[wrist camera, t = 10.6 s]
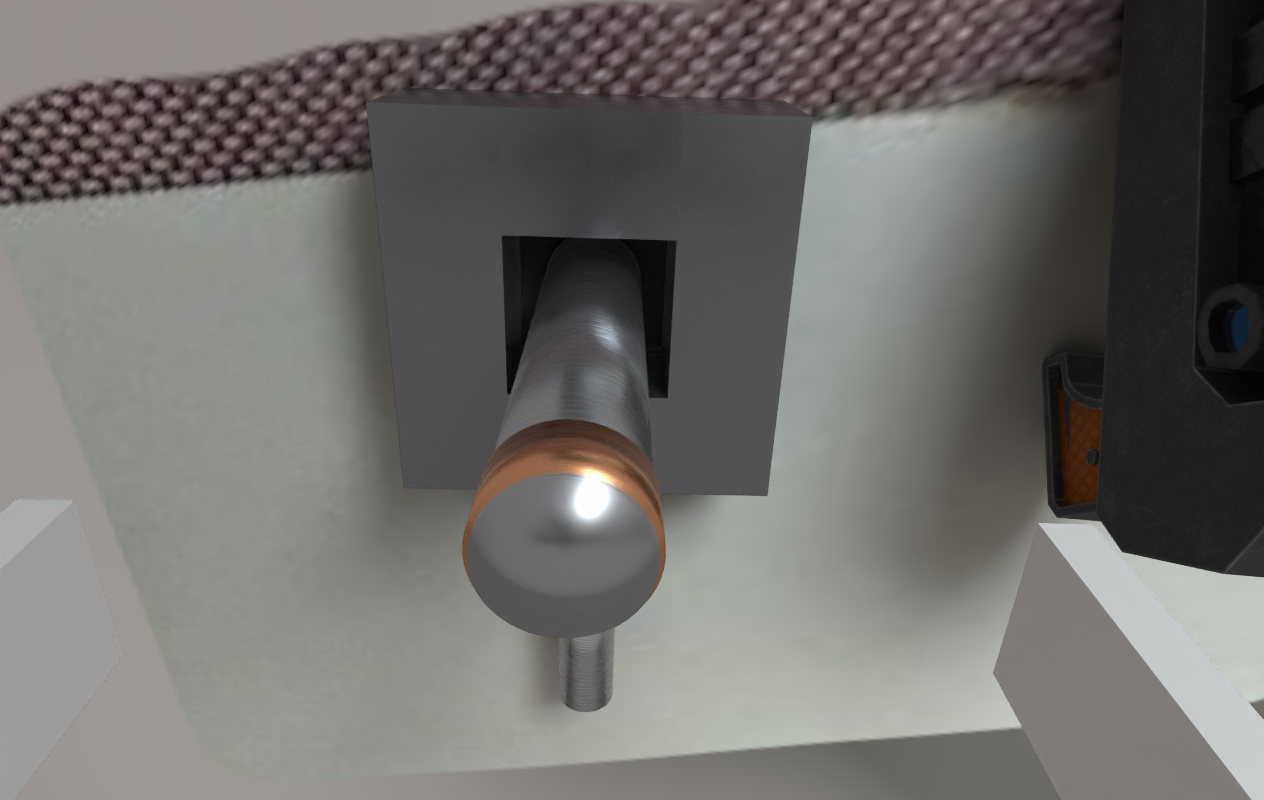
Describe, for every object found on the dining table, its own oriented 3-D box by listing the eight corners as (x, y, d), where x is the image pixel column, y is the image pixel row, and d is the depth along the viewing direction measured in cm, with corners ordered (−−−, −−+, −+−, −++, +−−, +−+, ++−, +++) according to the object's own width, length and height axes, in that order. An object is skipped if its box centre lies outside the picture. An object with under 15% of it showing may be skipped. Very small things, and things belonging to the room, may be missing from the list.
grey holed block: (404, 88, 24) (366, 102, 20) (783, 101, 24) (812, 117, 21) (449, 651, 33) (427, 731, 29) (725, 656, 33) (738, 735, 30)
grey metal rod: (542, 226, 26) (454, 471, 12) (645, 229, 26) (671, 476, 12) (543, 323, 27) (465, 641, 14) (641, 326, 27) (661, 644, 14)
